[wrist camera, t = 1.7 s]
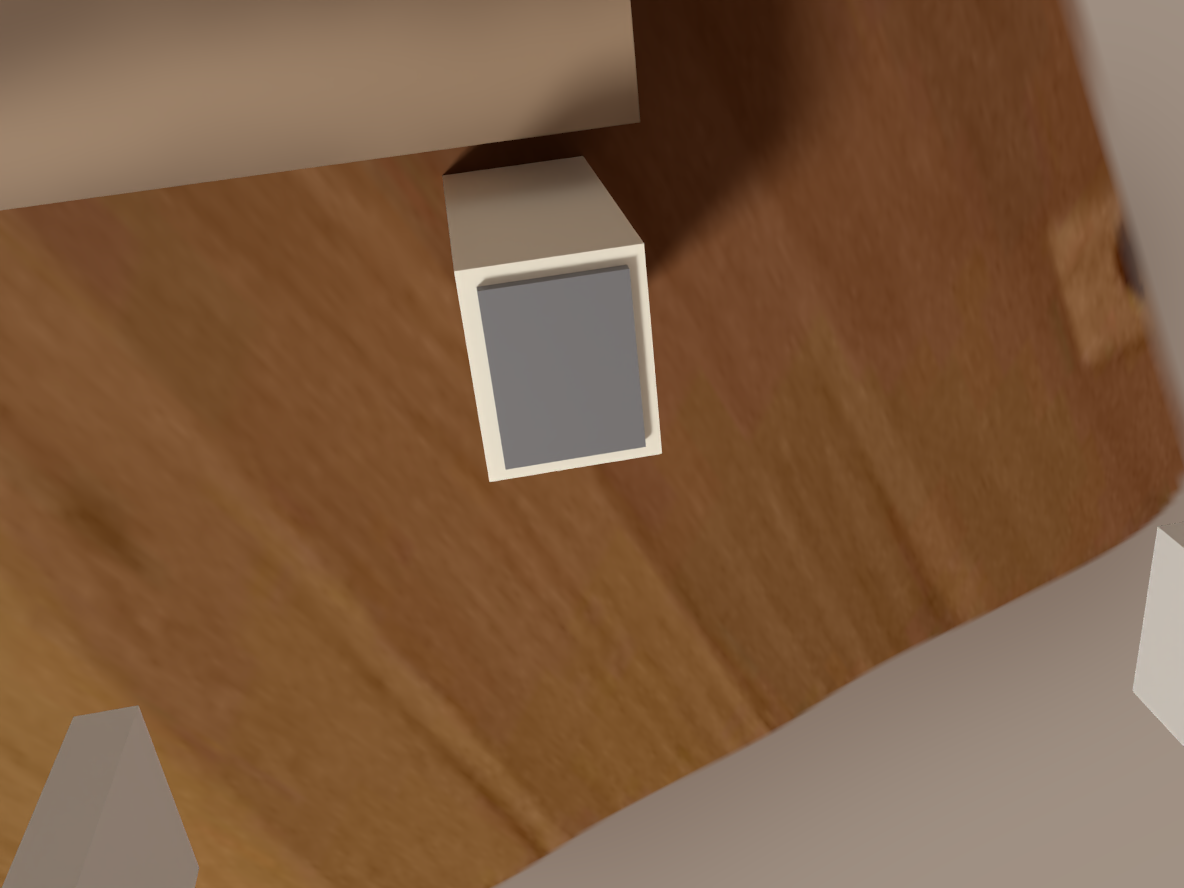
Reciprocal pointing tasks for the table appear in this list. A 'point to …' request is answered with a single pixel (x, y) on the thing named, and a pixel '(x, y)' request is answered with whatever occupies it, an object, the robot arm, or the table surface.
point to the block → (553, 317)
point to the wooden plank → (289, 85)
